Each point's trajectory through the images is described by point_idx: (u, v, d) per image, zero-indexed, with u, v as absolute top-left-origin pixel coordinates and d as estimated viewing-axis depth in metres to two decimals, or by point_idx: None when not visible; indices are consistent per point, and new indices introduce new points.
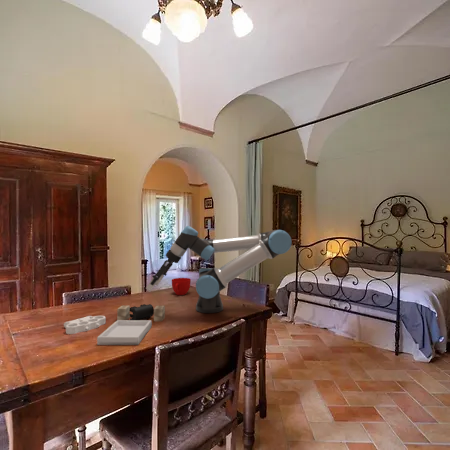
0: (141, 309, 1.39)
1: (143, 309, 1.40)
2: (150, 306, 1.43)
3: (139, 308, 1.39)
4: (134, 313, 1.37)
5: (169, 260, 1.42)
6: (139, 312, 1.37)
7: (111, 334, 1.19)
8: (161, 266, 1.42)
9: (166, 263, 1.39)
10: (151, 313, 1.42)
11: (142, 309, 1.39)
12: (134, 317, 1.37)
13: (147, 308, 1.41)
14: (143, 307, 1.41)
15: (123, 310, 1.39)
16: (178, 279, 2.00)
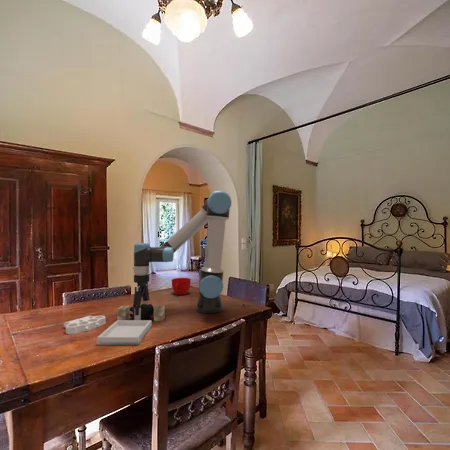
0: (141, 309, 1.39)
1: (143, 309, 1.40)
2: (150, 306, 1.43)
3: None
4: (134, 313, 1.37)
5: (139, 283, 1.38)
6: None
7: (111, 334, 1.19)
8: None
9: (137, 288, 1.35)
10: (151, 313, 1.42)
11: (142, 309, 1.39)
12: (134, 317, 1.37)
13: (147, 308, 1.41)
14: (143, 307, 1.41)
15: (123, 310, 1.39)
16: (178, 279, 2.00)
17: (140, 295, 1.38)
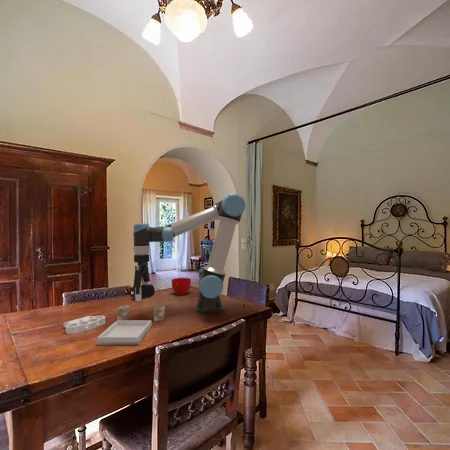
0: (142, 288, 1.39)
1: (144, 288, 1.40)
2: (151, 286, 1.43)
3: None
4: None
5: (139, 263, 1.38)
6: None
7: (111, 334, 1.19)
8: None
9: (137, 267, 1.35)
10: (152, 293, 1.43)
11: (143, 288, 1.39)
12: None
13: (148, 288, 1.41)
14: (144, 287, 1.41)
15: (123, 310, 1.39)
16: (178, 279, 2.00)
17: (140, 274, 1.38)
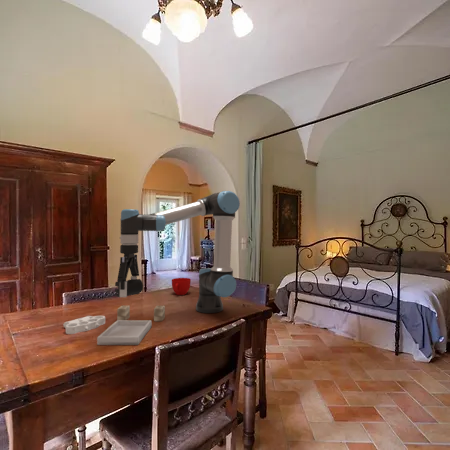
0: (128, 283, 1.22)
1: (130, 283, 1.23)
2: (139, 281, 1.26)
3: None
4: None
5: (125, 254, 1.21)
6: None
7: (111, 334, 1.19)
8: None
9: (122, 259, 1.18)
10: (140, 289, 1.25)
11: (129, 283, 1.22)
12: (119, 292, 1.20)
13: (135, 283, 1.24)
14: (130, 281, 1.24)
15: (123, 310, 1.39)
16: (178, 279, 2.00)
17: (127, 267, 1.21)
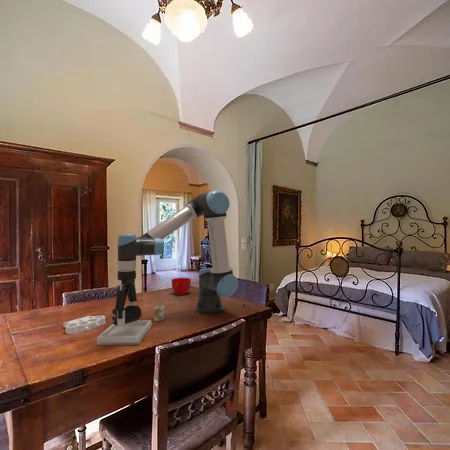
0: (126, 311, 1.18)
1: (128, 311, 1.19)
2: (137, 307, 1.22)
3: None
4: None
5: (123, 281, 1.17)
6: None
7: (111, 334, 1.19)
8: None
9: (120, 287, 1.14)
10: (138, 316, 1.21)
11: (127, 311, 1.18)
12: None
13: (133, 310, 1.20)
14: (128, 309, 1.20)
15: None
16: (178, 279, 2.00)
17: (124, 295, 1.17)
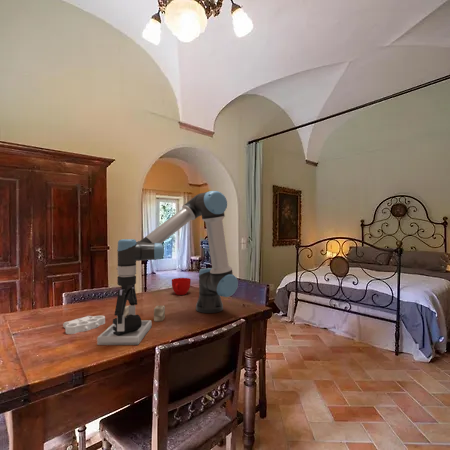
0: (126, 321, 1.18)
1: (128, 321, 1.19)
2: (137, 317, 1.22)
3: (124, 320, 1.18)
4: None
5: (123, 287, 1.17)
6: None
7: (111, 334, 1.19)
8: None
9: (120, 292, 1.14)
10: (138, 325, 1.21)
11: (127, 321, 1.18)
12: (117, 331, 1.16)
13: (133, 320, 1.20)
14: (129, 318, 1.20)
15: None
16: (178, 279, 2.00)
17: (124, 300, 1.16)
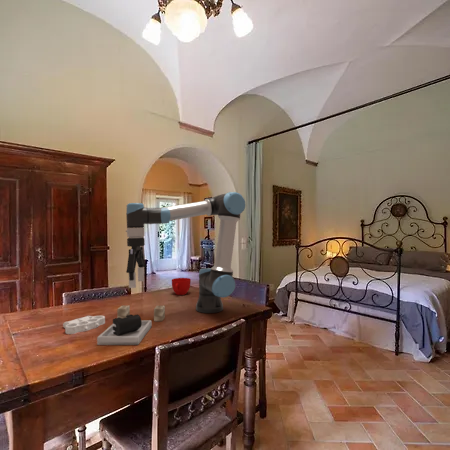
0: (126, 321, 1.18)
1: (128, 321, 1.19)
2: (137, 317, 1.22)
3: (124, 320, 1.18)
4: (117, 326, 1.16)
5: (133, 247, 1.24)
6: (123, 325, 1.17)
7: (111, 334, 1.19)
8: None
9: (131, 251, 1.21)
10: (138, 325, 1.21)
11: (127, 321, 1.18)
12: (117, 331, 1.16)
13: (133, 320, 1.20)
14: (129, 318, 1.20)
15: (123, 310, 1.39)
16: (178, 279, 2.00)
17: (135, 259, 1.24)
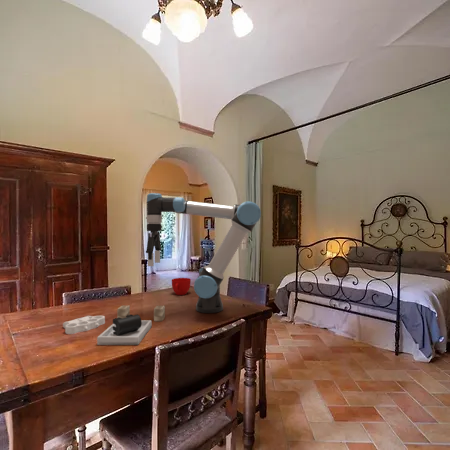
0: (126, 321, 1.18)
1: (128, 321, 1.19)
2: (137, 317, 1.22)
3: (124, 320, 1.18)
4: (117, 326, 1.16)
5: (152, 231, 1.43)
6: (123, 325, 1.17)
7: (111, 334, 1.19)
8: None
9: (150, 234, 1.40)
10: (138, 325, 1.21)
11: (127, 321, 1.18)
12: (117, 331, 1.16)
13: (133, 320, 1.20)
14: (129, 318, 1.20)
15: (123, 310, 1.39)
16: (178, 279, 2.00)
17: (153, 242, 1.42)
